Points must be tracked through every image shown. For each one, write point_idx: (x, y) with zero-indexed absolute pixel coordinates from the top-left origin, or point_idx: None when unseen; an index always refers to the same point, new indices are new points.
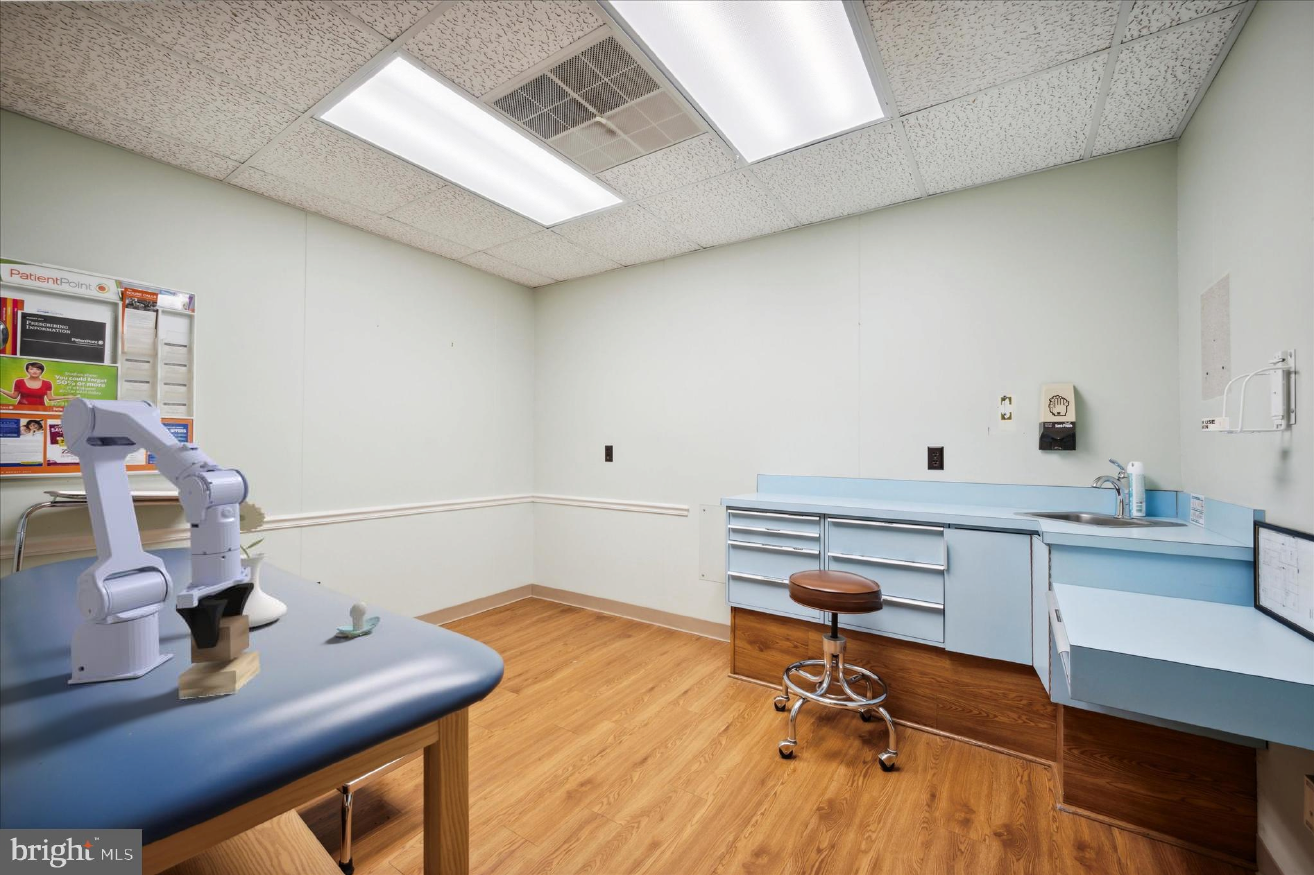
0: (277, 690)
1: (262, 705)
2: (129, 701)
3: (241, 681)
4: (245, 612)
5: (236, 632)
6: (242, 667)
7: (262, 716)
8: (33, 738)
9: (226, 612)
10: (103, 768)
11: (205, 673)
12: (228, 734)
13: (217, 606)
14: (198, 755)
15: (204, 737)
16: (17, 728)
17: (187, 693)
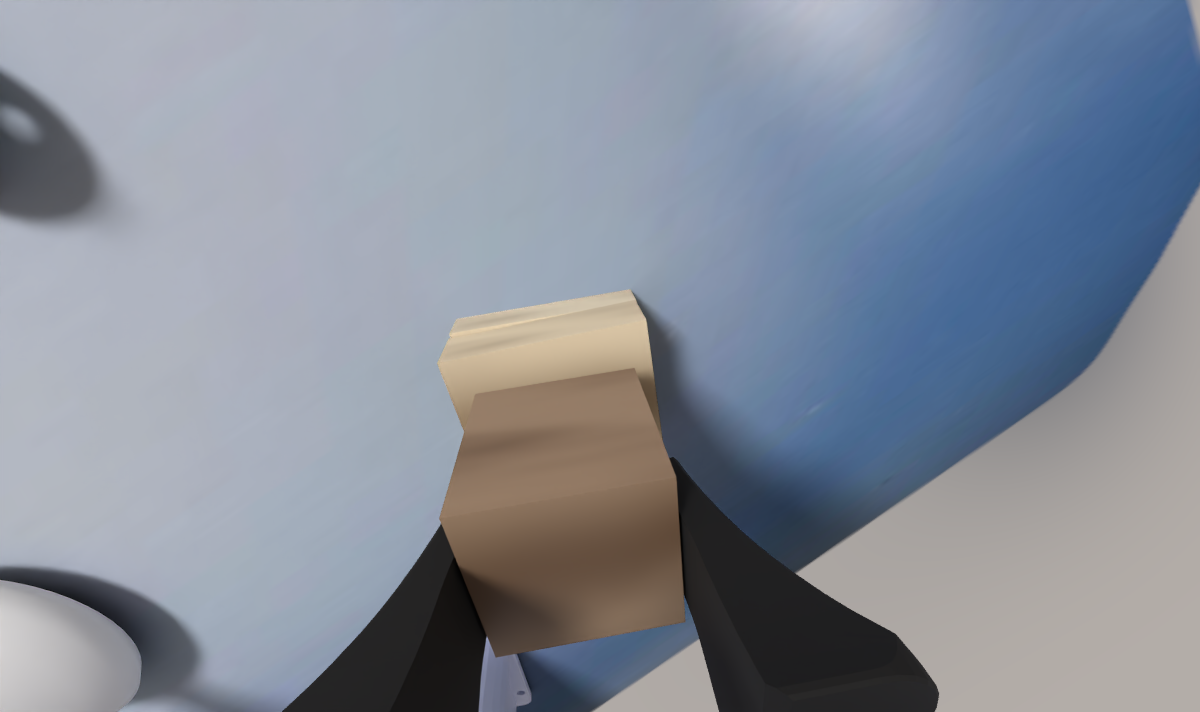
0: (624, 133)
1: (747, 115)
2: None
3: (592, 305)
4: (33, 683)
5: (596, 445)
6: (588, 326)
7: (844, 50)
8: None
9: (466, 637)
10: (976, 341)
11: (654, 414)
12: (937, 105)
13: (906, 651)
14: (1038, 120)
15: (922, 182)
16: None
17: None
